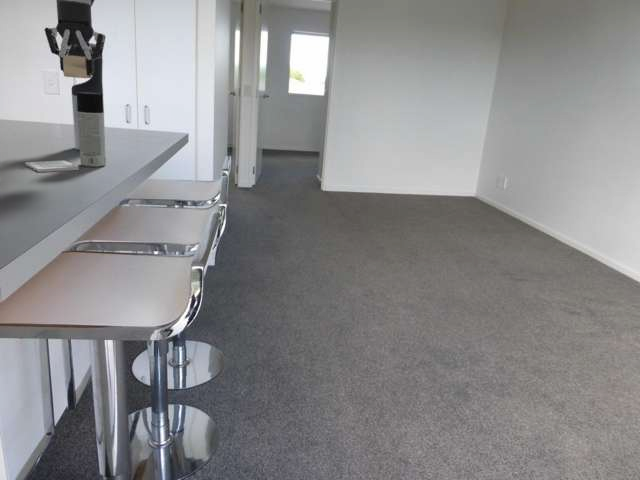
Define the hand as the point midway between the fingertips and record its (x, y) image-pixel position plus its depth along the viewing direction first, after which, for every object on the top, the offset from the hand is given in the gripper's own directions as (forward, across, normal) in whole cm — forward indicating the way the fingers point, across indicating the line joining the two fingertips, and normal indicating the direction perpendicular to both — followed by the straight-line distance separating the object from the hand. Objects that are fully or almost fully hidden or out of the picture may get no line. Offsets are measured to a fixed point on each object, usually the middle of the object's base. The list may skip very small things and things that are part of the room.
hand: (77, 74), depth 127 cm
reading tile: (+25, -9, +2) cm, 26 cm away
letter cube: (+1, 0, 0) cm, 1 cm away
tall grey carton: (+25, 0, +9) cm, 27 cm away
